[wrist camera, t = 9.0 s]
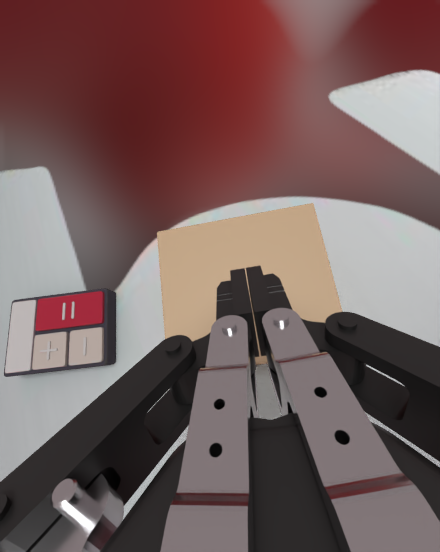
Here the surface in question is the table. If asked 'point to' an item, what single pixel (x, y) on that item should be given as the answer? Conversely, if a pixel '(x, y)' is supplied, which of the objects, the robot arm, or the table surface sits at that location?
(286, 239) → the lid
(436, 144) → the table surface
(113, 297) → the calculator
